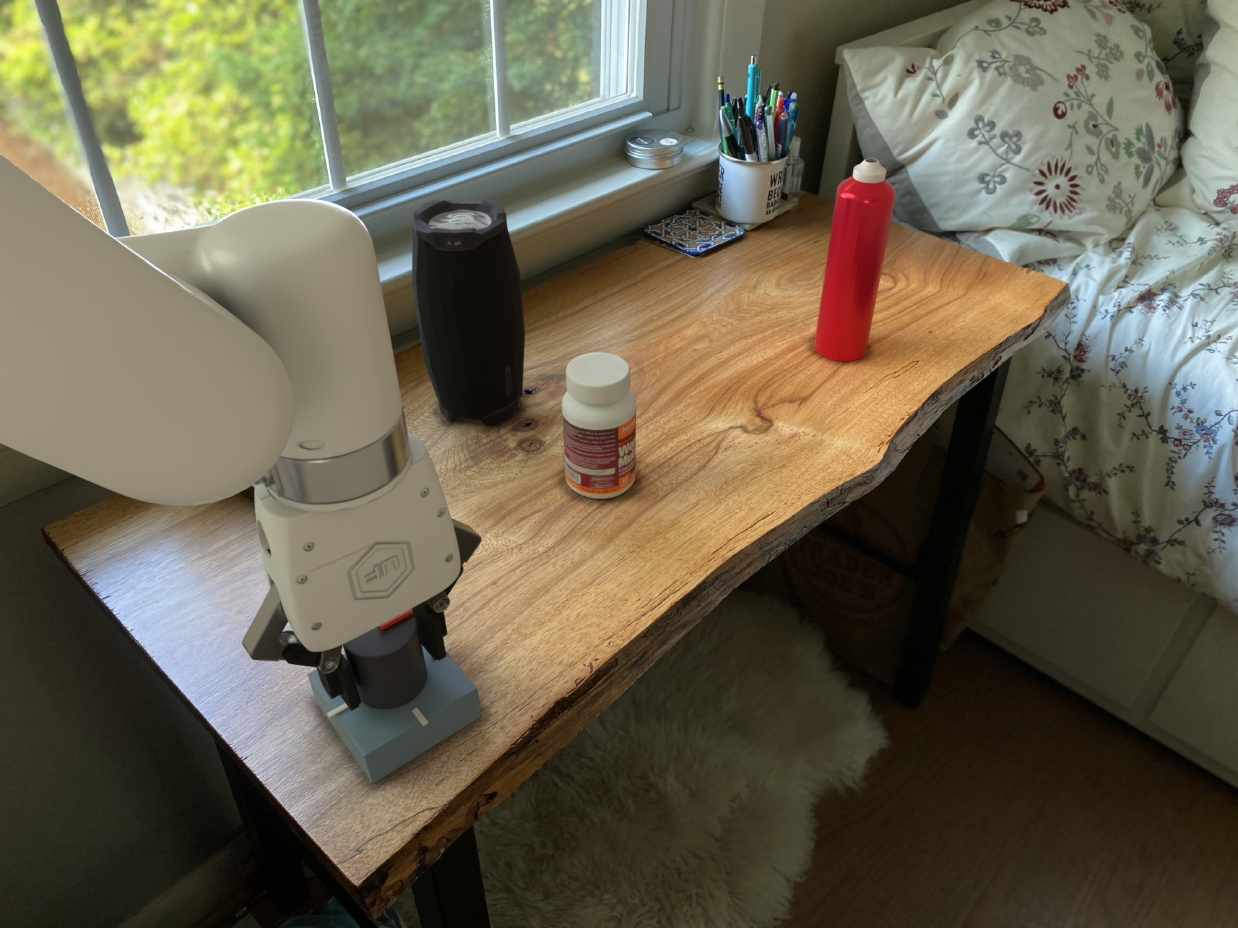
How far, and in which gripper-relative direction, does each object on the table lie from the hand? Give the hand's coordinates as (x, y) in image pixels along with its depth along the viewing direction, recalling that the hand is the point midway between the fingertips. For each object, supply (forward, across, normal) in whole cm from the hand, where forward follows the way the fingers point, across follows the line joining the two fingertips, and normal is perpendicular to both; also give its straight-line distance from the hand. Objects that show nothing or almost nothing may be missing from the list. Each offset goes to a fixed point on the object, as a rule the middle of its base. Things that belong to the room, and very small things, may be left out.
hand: (388, 667), depth 60 cm
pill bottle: (+4, +26, +10) cm, 28 cm away
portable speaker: (+4, +24, +26) cm, 36 cm away
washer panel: (+4, 0, 0) cm, 4 cm away
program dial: (+1, 0, 0) cm, 1 cm away
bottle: (+4, +58, +12) cm, 60 cm away
